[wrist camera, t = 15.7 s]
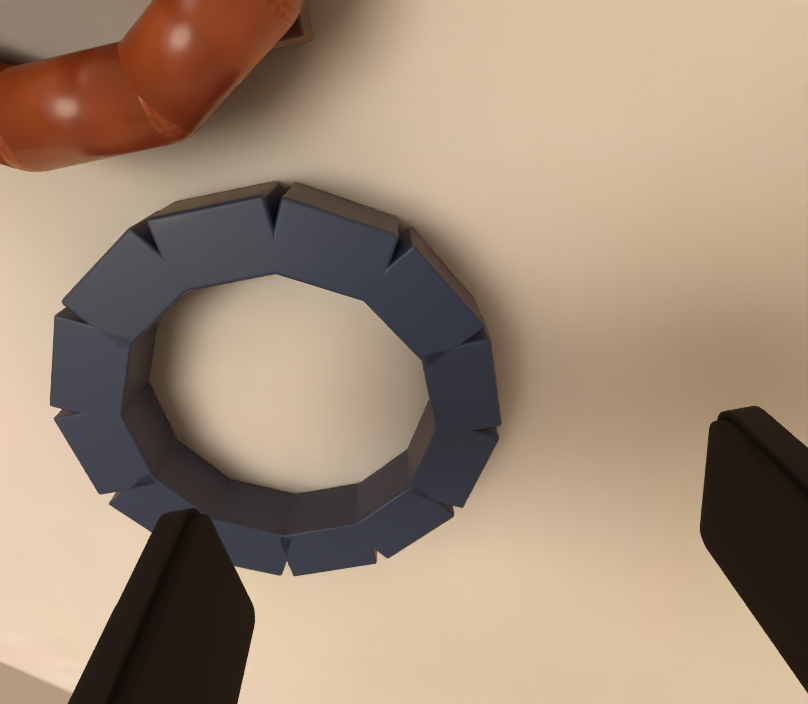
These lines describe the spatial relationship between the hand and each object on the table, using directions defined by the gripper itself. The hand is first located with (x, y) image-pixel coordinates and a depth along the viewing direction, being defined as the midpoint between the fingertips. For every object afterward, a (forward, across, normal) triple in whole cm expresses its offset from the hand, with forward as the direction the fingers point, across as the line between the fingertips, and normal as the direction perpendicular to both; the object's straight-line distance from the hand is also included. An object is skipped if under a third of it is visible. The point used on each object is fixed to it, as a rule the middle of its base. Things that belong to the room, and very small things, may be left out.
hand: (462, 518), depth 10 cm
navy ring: (+6, +4, 0) cm, 8 cm away
